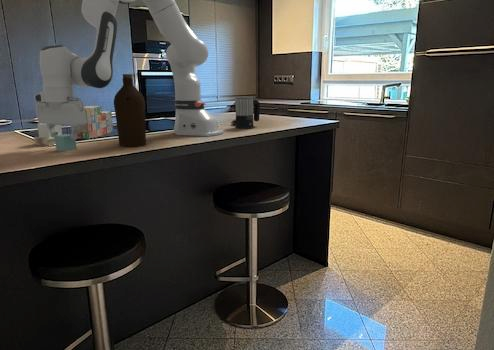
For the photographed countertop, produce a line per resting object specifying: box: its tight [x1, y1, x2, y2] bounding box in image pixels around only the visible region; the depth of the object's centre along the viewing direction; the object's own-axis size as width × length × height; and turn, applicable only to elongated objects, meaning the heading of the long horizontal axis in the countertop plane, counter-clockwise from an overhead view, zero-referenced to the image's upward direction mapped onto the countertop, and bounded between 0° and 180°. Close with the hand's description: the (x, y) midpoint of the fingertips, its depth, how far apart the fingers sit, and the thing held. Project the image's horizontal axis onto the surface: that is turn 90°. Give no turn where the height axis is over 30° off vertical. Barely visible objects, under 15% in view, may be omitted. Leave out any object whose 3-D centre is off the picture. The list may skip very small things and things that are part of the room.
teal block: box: [54, 133, 77, 152], centre depth 125 cm, size 4×4×5 cm
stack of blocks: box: [76, 105, 115, 140], centre depth 155 cm, size 21×6×12 cm, turn 174°
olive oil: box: [113, 73, 147, 148], centre depth 131 cm, size 11×11×25 cm
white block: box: [36, 122, 63, 138], centre depth 136 cm, size 6×6×5 cm
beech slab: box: [33, 136, 55, 147], centre depth 137 cm, size 8×8×3 cm
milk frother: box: [230, 96, 261, 129], centre depth 182 cm, size 14×16×15 cm
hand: (64, 138), depth 124 cm, fingers open, 8 cm apart
